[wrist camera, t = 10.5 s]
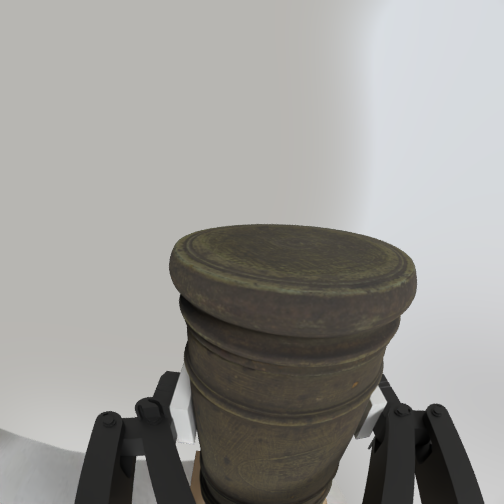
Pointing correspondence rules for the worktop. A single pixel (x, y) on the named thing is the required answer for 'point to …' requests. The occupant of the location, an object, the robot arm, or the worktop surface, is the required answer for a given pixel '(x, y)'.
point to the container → (283, 351)
